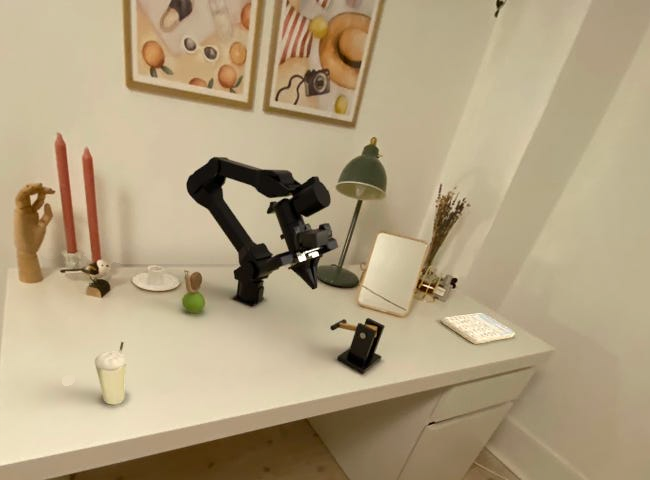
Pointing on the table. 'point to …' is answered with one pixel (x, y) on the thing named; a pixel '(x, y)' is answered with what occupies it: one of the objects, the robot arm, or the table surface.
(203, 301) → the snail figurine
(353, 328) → the lever
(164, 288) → the candle holder
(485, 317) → the calculator
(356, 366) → the bracket
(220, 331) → the table surface
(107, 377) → the milkshake
